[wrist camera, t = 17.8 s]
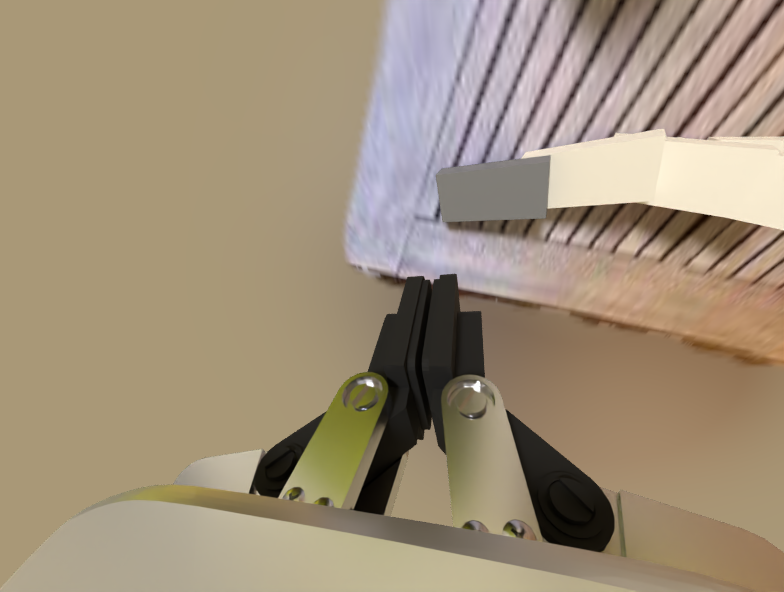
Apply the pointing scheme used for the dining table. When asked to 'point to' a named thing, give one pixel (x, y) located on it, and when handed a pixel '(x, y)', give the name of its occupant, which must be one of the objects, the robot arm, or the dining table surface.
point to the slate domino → (495, 190)
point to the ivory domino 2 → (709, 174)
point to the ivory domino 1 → (604, 170)
